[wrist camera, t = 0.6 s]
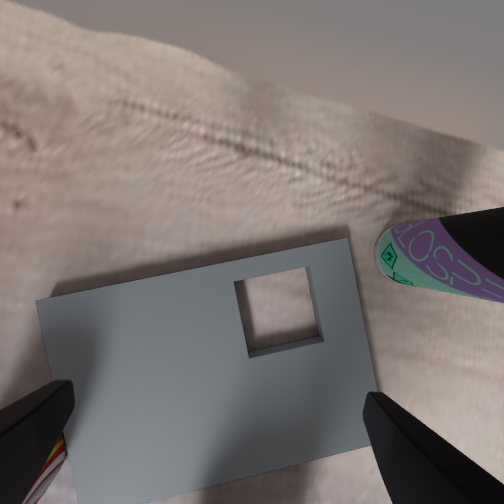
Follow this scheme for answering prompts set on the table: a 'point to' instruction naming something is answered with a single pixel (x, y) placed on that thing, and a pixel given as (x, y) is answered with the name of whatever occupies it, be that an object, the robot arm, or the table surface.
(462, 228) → the spray can
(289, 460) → the hole board
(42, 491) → the soda can
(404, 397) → the table surface
